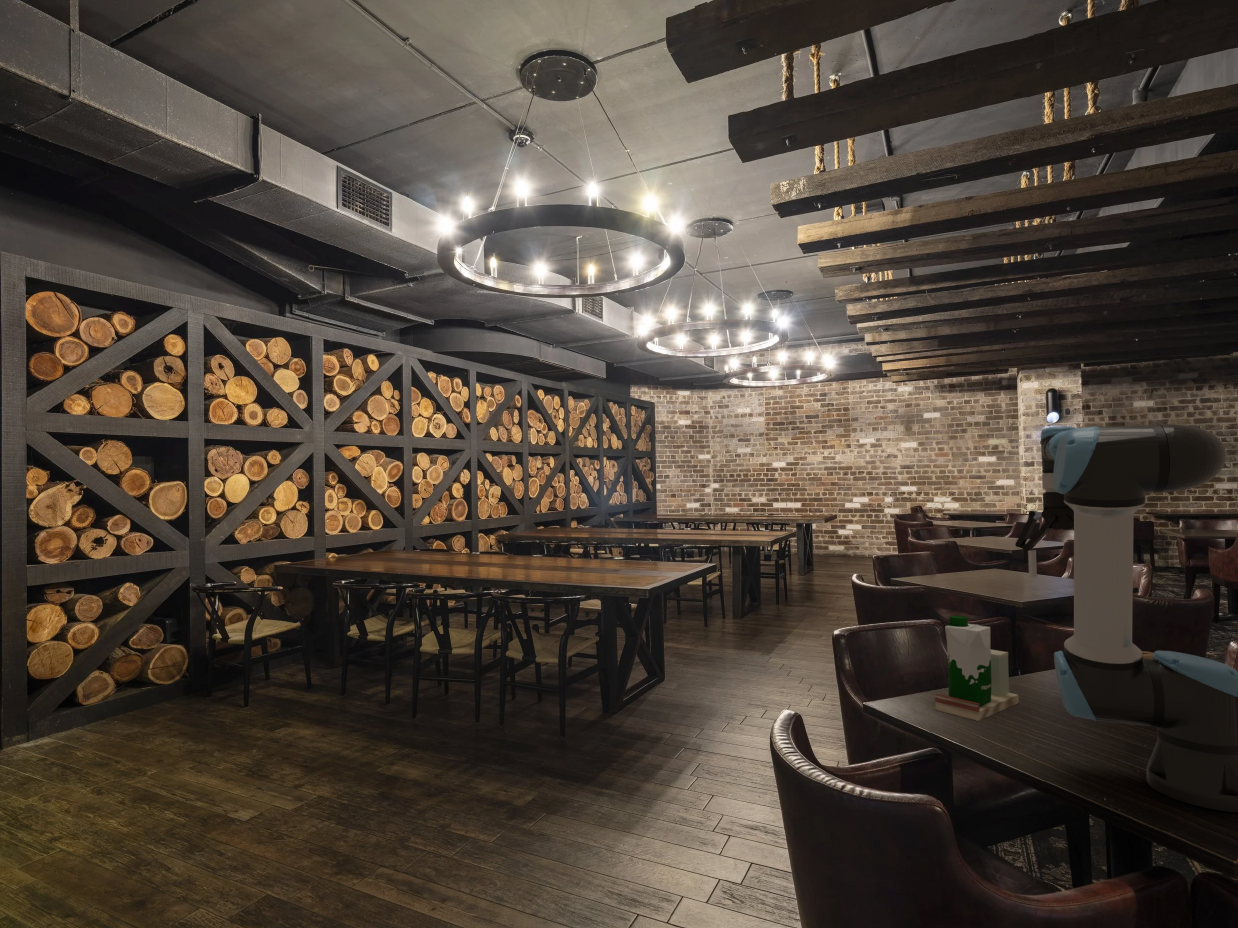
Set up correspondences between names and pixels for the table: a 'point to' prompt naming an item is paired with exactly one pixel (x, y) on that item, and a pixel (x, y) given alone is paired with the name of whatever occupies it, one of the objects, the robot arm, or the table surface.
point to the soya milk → (968, 660)
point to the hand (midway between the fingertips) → (1064, 579)
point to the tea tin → (999, 673)
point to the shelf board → (974, 706)
